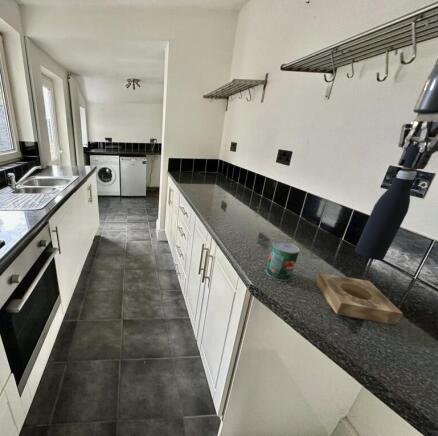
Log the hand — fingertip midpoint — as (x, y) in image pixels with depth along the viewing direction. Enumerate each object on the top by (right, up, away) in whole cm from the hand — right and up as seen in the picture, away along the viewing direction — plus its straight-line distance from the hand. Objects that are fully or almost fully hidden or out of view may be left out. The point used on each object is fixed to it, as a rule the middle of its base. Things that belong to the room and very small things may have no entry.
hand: (410, 167), depth 57 cm
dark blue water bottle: (-1, -23, +10) cm, 25 cm away
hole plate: (-4, -38, +12) cm, 40 cm away
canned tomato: (-20, -33, +23) cm, 45 cm away
